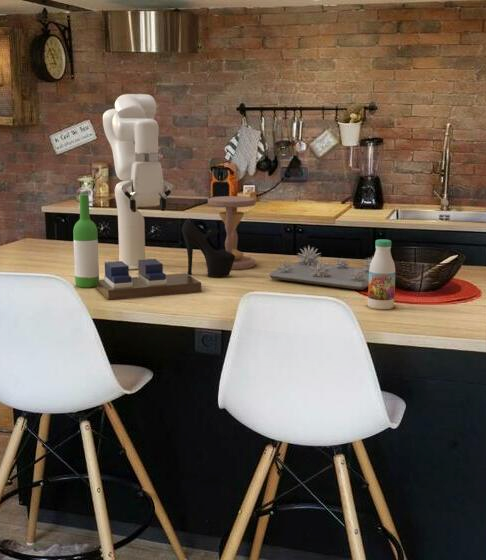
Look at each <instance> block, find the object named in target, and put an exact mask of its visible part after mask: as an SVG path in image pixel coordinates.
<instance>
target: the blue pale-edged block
mask: <svg viewBox="0 0 486 560" xmlns="http://www.w3.org/2000/svg"><path fill="white" fill-rule="evenodd" d="M163 266H164V265H163V263H162V262H161V261H159V260H157V259H156V258H149V259H145V260H138V269H137V271H138V272H137V277H138V278H139V279H140V280H141V281H143V282H144V283H145V284H147V285H148V286H153V285H166V284H167V280H166V275H167V274H166V273H164V267H163Z"/></svg>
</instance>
